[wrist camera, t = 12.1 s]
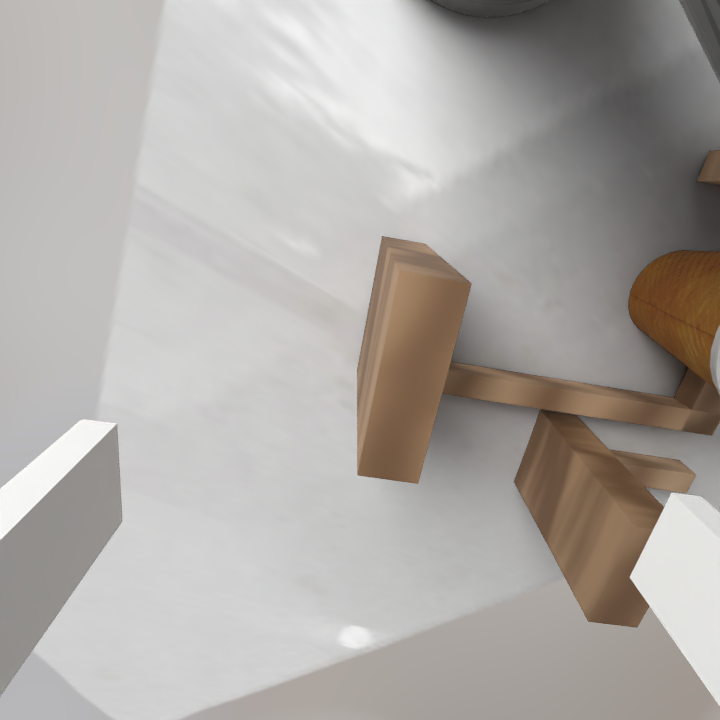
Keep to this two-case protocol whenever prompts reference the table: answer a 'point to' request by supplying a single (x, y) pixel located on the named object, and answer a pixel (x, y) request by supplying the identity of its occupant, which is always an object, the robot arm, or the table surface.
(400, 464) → the bent wooden rail
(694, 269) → the disposable coffee cup
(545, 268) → the table surface
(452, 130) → the table surface
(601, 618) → the wooden mallet
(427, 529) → the table surface
